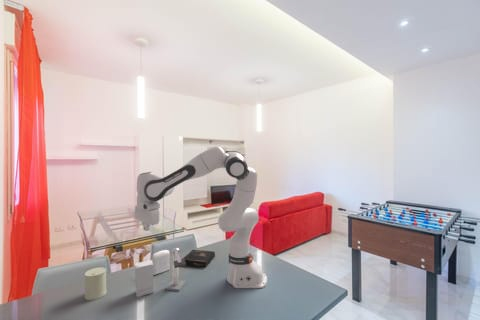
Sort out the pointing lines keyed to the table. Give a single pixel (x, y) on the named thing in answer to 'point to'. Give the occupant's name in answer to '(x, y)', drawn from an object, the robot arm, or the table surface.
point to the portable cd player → (199, 258)
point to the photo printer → (161, 262)
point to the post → (175, 279)
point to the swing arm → (178, 258)
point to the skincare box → (144, 278)
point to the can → (95, 283)
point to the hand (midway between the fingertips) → (146, 230)
